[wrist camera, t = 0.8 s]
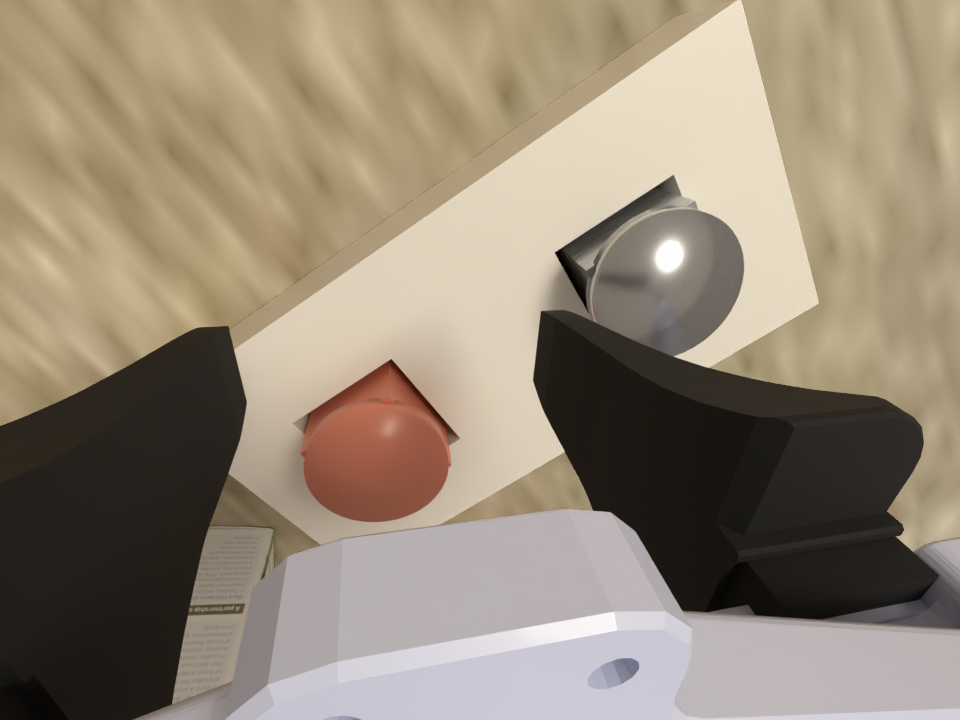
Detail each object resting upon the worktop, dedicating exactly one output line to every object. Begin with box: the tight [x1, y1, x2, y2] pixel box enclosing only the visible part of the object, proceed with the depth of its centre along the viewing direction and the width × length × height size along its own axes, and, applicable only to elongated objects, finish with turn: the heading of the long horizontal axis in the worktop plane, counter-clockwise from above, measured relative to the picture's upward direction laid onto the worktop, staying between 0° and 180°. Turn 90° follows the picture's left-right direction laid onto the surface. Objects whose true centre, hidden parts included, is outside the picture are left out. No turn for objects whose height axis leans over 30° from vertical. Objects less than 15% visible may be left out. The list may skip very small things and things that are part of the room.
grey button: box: [558, 187, 744, 356], centre depth 18 cm, size 5×5×5 cm
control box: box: [228, 0, 819, 545], centre depth 21 cm, size 12×24×4 cm, turn 122°
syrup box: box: [172, 526, 274, 704], centre depth 21 cm, size 6×6×14 cm
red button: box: [300, 359, 452, 522], centre depth 20 cm, size 5×5×5 cm
